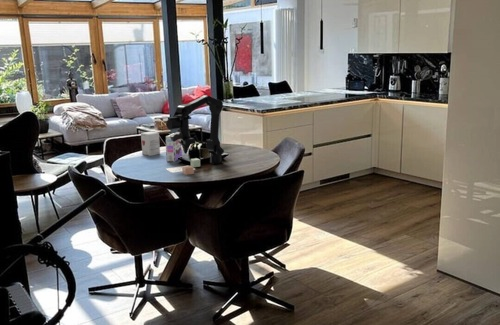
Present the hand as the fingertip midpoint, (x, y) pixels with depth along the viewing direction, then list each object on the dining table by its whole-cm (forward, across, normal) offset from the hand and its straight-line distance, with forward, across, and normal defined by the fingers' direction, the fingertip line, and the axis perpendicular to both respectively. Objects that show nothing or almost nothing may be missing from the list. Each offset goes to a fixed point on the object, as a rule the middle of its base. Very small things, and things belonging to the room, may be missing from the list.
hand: (185, 153), depth 275 cm
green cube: (+10, -6, +8) cm, 14 cm away
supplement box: (+10, -56, -4) cm, 57 cm away
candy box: (+10, -31, +4) cm, 33 cm away
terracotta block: (+10, +8, -2) cm, 13 cm away
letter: (+10, -4, -2) cm, 11 cm away
